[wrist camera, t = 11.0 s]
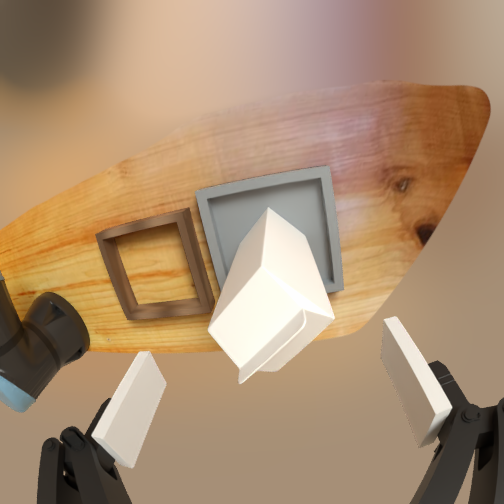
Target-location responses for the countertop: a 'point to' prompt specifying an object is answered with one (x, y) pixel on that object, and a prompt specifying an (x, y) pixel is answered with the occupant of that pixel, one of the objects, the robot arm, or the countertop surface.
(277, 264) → the milk
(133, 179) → the countertop surface
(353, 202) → the countertop surface
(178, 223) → the frame
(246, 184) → the tray
